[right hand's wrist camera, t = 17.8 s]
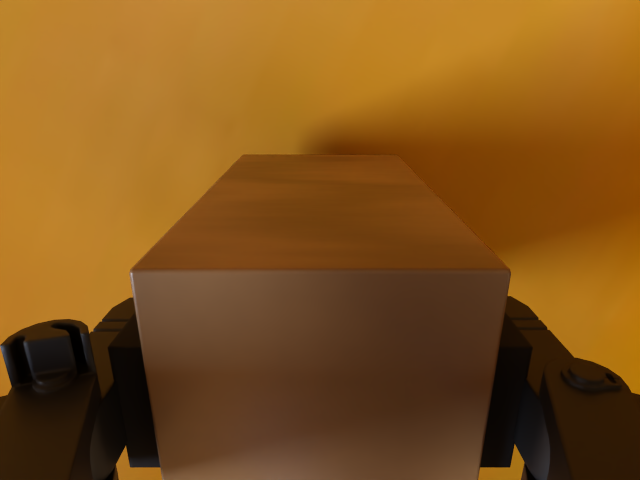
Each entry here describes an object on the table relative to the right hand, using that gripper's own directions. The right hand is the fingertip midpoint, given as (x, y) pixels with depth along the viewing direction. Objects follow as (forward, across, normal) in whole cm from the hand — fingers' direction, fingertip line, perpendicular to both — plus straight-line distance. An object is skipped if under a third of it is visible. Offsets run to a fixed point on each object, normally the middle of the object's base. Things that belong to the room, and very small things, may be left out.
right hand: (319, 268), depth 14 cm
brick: (+4, 0, 0) cm, 4 cm away
